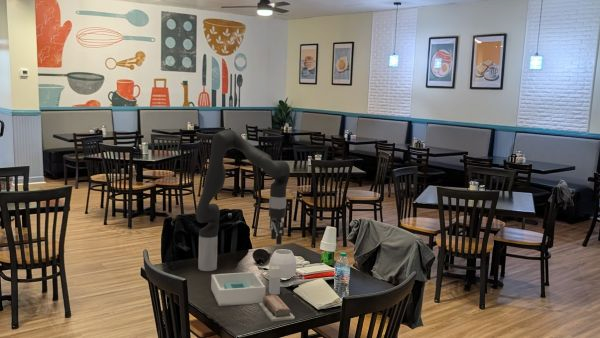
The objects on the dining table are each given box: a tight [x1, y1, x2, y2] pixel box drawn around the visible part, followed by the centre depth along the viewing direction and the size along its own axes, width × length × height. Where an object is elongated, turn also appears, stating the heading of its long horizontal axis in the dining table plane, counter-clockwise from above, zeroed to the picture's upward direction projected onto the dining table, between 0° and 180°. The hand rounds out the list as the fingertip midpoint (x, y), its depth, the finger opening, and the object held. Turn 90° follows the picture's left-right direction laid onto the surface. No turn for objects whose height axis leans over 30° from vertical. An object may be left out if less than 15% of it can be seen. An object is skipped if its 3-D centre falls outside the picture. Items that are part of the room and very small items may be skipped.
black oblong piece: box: [252, 248, 272, 266], centre depth 294 cm, size 9×11×18 cm
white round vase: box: [268, 248, 297, 278], centre depth 269 cm, size 13×13×14 cm
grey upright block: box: [268, 266, 281, 296], centre depth 249 cm, size 4×4×12 cm
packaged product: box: [258, 294, 296, 323], centre depth 229 cm, size 18×5×10 cm
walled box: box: [210, 271, 267, 307], centre depth 244 cm, size 20×20×7 cm
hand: (276, 241), depth 246 cm, fingers open, 8 cm apart
